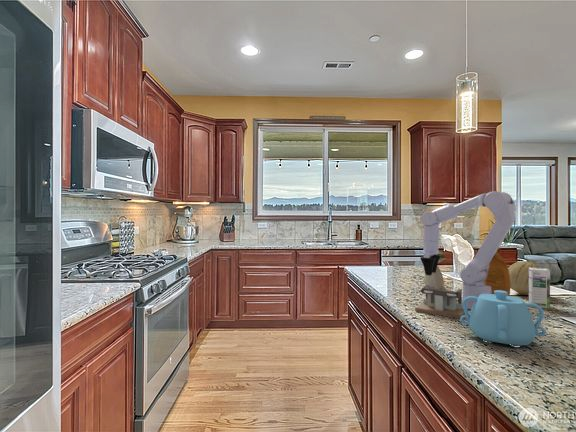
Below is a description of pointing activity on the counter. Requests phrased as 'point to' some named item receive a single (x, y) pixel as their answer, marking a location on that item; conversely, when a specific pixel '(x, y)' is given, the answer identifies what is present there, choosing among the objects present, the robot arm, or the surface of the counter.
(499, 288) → the coffee package
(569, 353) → the counter surface
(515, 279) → the cantaloupe
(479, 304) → the decorative pot
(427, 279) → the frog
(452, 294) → the bracket with white balls
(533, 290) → the syrup box
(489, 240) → the robot arm
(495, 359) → the counter surface
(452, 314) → the tan board with cubes
